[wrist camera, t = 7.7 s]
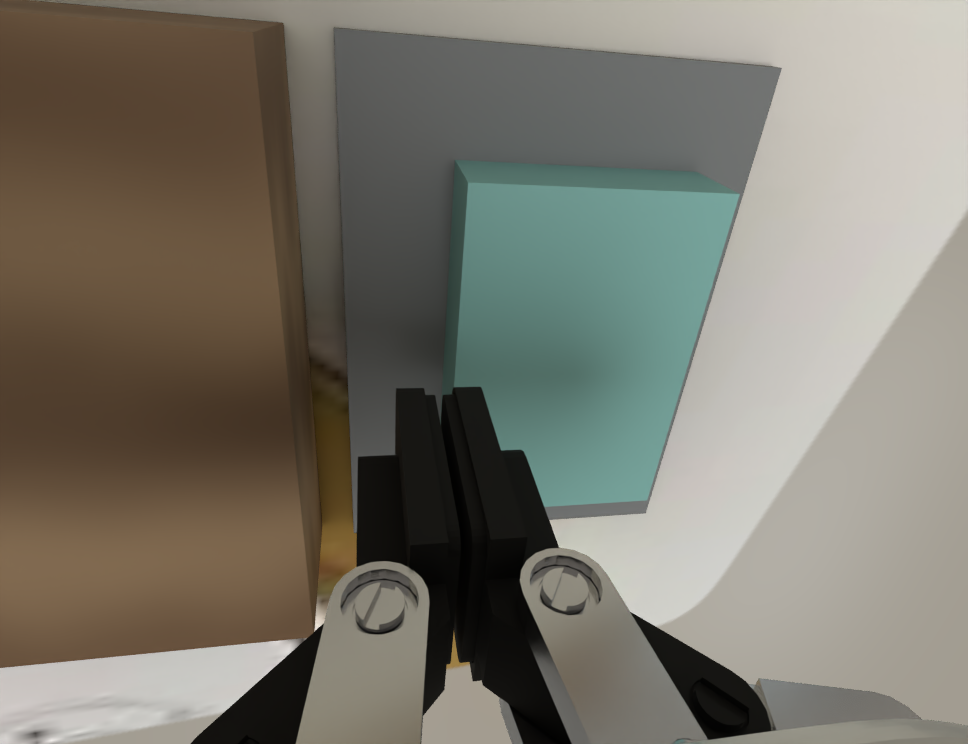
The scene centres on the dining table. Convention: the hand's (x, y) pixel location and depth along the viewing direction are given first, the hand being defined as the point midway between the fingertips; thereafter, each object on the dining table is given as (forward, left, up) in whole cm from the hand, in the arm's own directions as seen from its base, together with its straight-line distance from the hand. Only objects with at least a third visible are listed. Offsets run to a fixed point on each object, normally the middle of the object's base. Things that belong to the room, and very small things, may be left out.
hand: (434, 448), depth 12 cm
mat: (0, +3, -5) cm, 6 cm away
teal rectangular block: (0, +4, -3) cm, 5 cm away
